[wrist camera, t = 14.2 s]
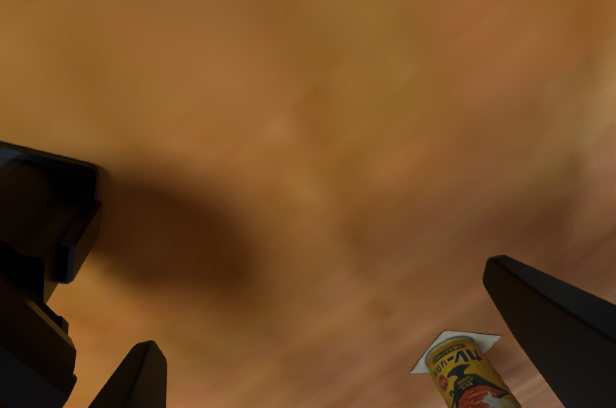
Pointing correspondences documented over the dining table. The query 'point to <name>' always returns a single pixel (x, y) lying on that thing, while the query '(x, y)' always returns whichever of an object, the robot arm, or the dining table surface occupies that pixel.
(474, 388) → the condiment
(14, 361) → the robot arm
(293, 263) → the dining table surface
